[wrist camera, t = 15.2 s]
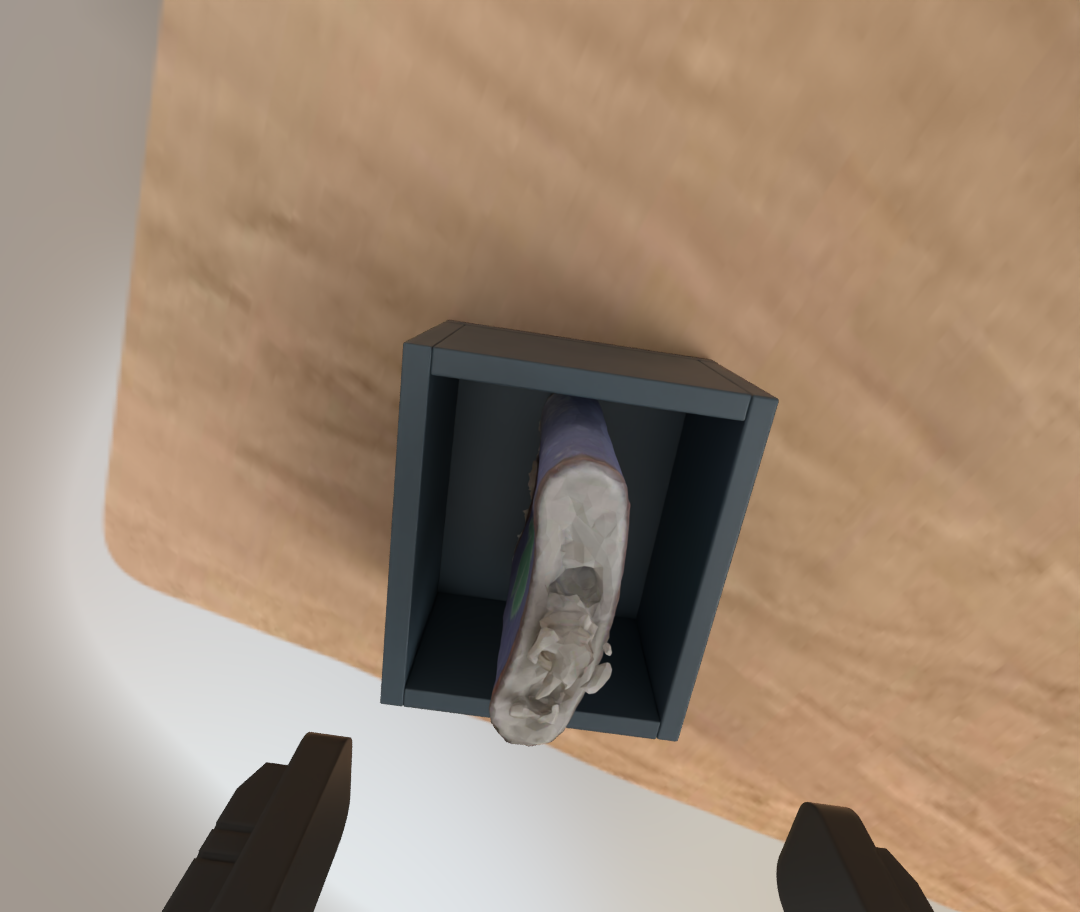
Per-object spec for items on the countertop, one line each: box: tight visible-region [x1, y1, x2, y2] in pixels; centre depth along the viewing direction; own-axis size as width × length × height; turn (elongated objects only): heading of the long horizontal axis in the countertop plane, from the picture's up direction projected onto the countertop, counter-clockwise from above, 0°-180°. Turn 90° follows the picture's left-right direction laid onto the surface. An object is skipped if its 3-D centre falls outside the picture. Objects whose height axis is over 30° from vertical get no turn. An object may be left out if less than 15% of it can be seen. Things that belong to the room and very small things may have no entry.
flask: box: [489, 393, 630, 746], centre depth 18 cm, size 9×3×11 cm, turn 168°
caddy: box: [380, 320, 778, 741], centre depth 20 cm, size 11×13×7 cm
